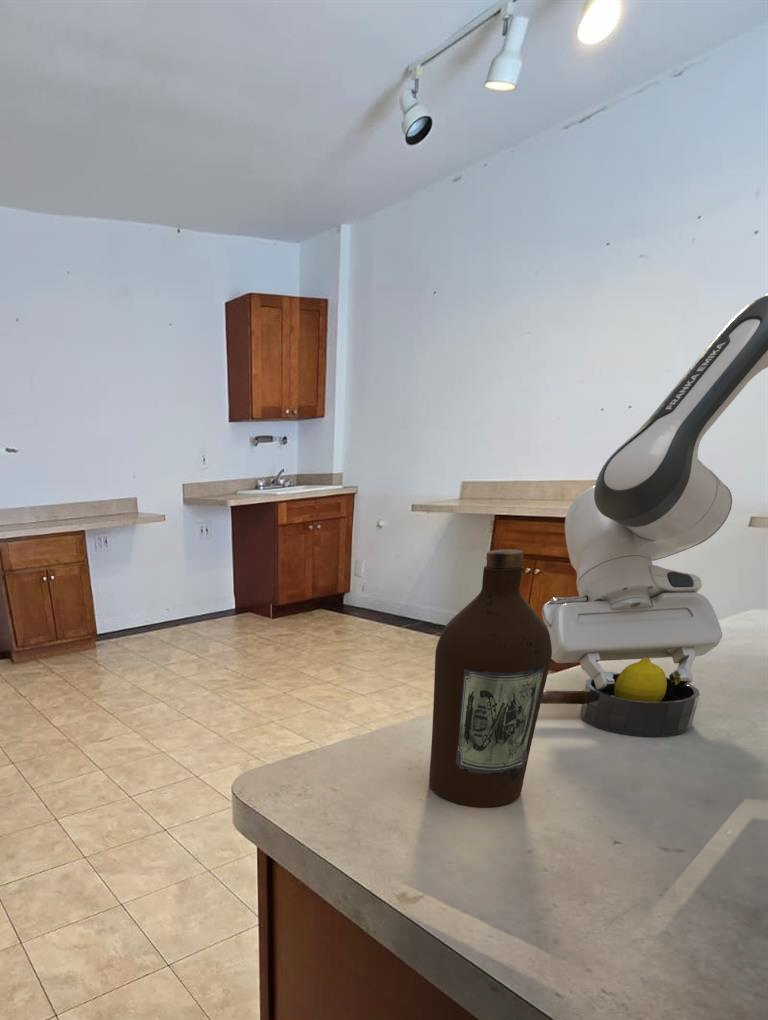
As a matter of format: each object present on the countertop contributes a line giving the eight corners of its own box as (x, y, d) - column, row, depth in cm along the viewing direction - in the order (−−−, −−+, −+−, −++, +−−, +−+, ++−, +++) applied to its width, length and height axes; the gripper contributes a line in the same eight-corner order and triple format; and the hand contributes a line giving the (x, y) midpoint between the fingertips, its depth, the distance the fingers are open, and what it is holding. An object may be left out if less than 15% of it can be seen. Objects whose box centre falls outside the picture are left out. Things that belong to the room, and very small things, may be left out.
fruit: (635, 726, 81) (649, 665, 78) (598, 712, 86) (610, 654, 82) (669, 719, 82) (685, 658, 79) (631, 706, 87) (644, 648, 84)
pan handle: (586, 701, 85) (589, 688, 85) (591, 706, 84) (593, 693, 83) (499, 700, 88) (501, 688, 87) (502, 705, 86) (504, 692, 86)
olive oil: (414, 767, 76) (433, 548, 65) (507, 765, 75) (542, 541, 64) (436, 811, 66) (462, 562, 56) (543, 810, 65) (591, 555, 54)
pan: (666, 704, 88) (674, 672, 86) (708, 738, 77) (719, 703, 76) (568, 703, 91) (574, 672, 89) (596, 736, 80) (603, 702, 78)
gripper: (549, 585, 84) (571, 678, 79) (713, 575, 82) (745, 670, 78) (529, 612, 90) (549, 700, 85) (682, 603, 88) (710, 692, 84)
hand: (644, 685), depth 82 cm, fingers open, 8 cm apart
